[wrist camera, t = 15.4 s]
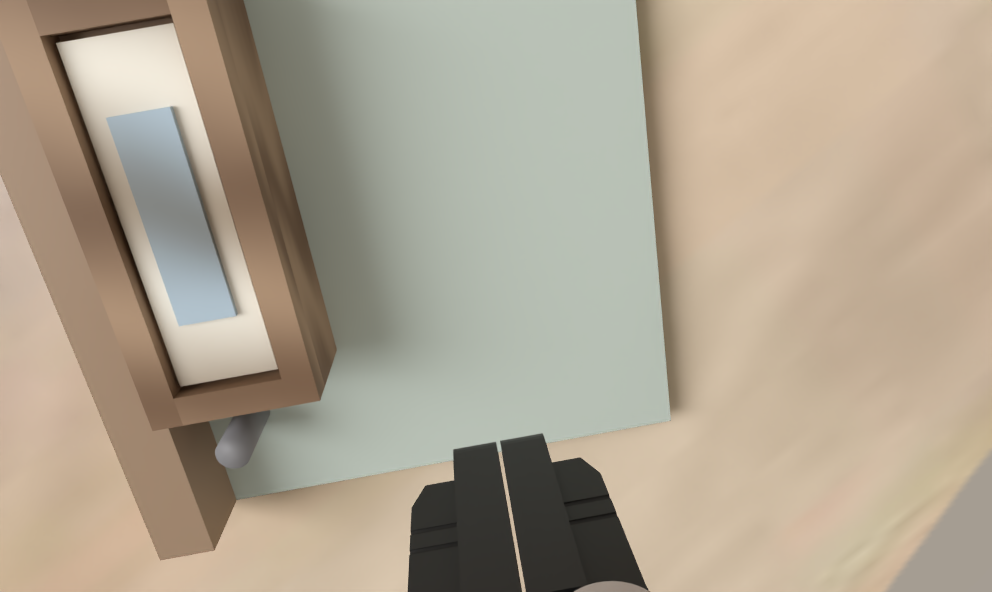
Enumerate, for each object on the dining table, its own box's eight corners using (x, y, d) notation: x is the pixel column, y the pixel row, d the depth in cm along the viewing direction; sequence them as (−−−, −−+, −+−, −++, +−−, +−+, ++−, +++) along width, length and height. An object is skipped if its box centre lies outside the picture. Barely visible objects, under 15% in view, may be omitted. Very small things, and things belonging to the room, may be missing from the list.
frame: (336, 350, 27) (320, 400, 23) (193, 375, 26) (152, 431, 23) (238, -21, 22) (196, -34, 18) (63, 8, 22) (-14, 2, 18)
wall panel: (663, 408, 30) (696, 461, 26) (195, 494, 29) (160, 560, 26) (603, -277, 21) (638, -344, 18) (-53, -168, 21) (-161, -213, 17)
